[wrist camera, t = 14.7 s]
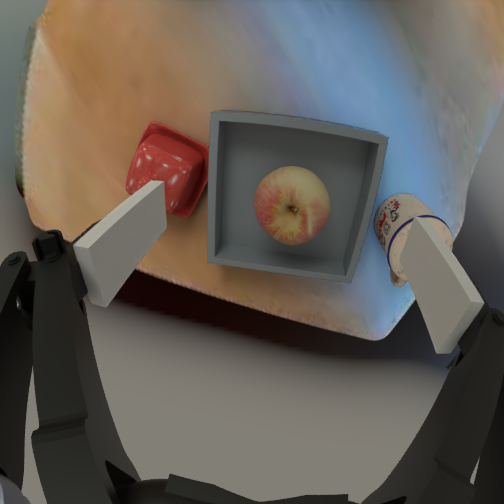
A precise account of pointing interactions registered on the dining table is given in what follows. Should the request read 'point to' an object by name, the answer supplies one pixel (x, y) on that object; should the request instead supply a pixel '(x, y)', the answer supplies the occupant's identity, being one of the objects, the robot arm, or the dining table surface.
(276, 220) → the apple
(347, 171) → the bin
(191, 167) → the butter dish
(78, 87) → the dining table surface
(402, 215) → the teacup with lid
